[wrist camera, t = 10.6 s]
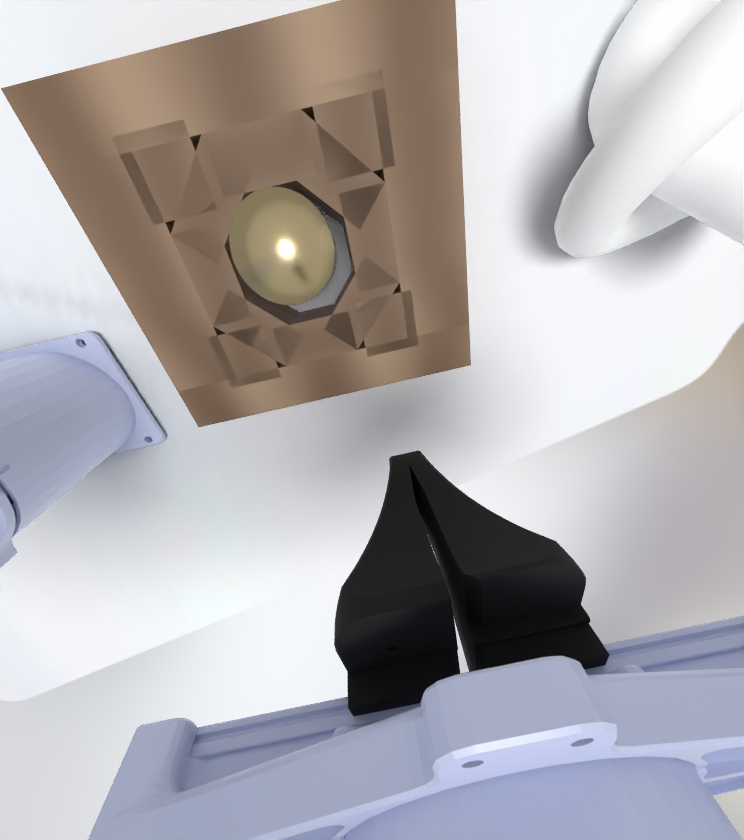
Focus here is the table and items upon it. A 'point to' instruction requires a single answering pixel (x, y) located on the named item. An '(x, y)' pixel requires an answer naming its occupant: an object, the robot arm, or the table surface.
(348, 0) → the jig
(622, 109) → the white knot sculpture
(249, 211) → the brass capped cylinder
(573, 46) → the table surface
